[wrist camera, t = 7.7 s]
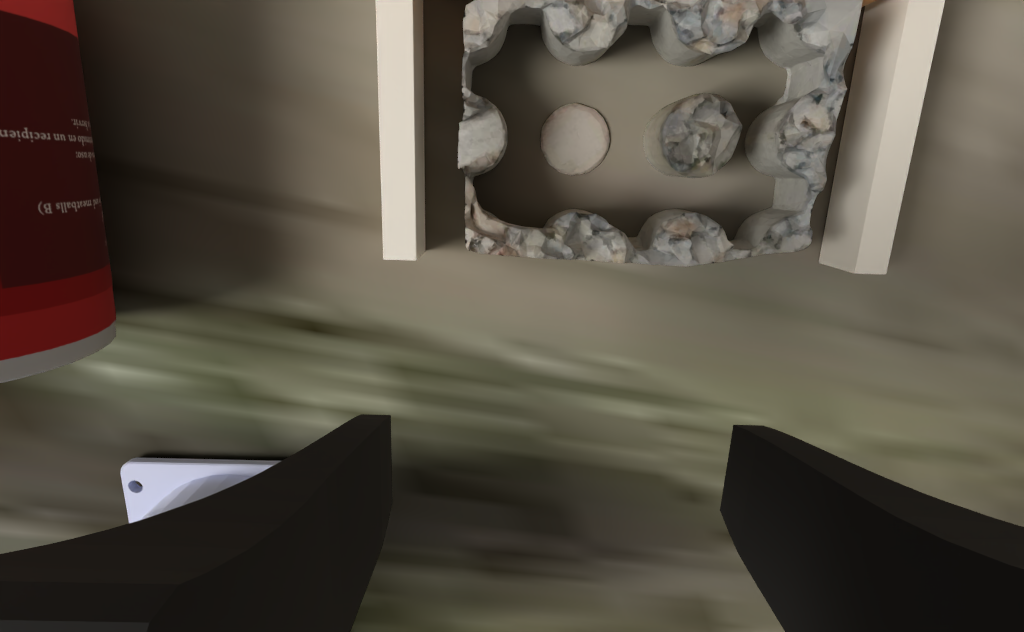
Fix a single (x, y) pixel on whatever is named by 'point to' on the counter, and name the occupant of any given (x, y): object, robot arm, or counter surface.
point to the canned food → (48, 197)
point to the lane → (860, 164)
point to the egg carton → (667, 122)
